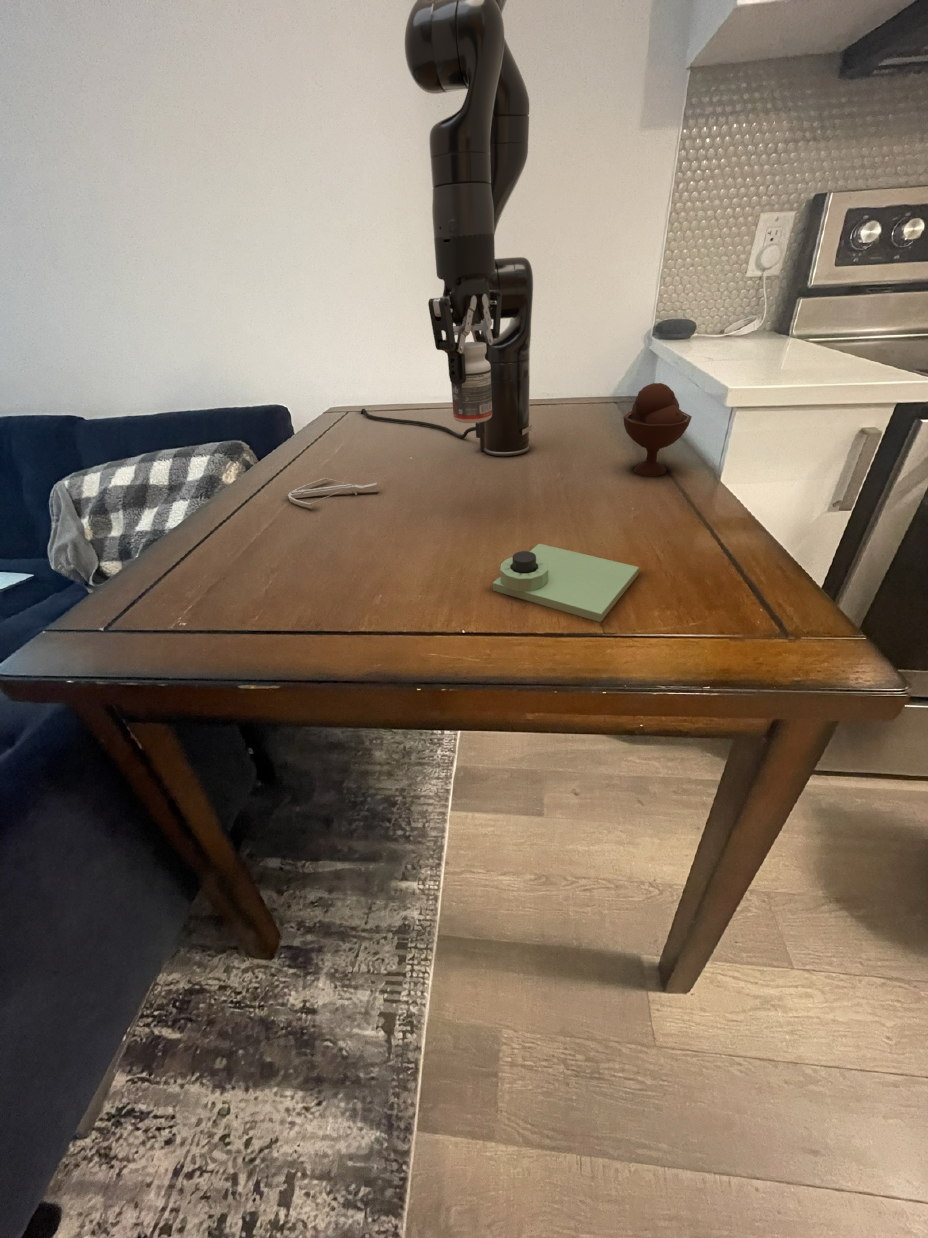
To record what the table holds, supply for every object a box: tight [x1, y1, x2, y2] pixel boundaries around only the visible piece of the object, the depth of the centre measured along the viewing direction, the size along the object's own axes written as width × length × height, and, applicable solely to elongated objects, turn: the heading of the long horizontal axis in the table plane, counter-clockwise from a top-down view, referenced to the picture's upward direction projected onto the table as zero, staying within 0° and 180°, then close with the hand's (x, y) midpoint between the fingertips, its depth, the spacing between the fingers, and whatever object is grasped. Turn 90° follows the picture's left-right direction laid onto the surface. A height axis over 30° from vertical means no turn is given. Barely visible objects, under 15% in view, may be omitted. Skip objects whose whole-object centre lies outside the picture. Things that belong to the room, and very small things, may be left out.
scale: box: [492, 543, 640, 623], centre depth 66 cm, size 14×12×3 cm
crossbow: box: [287, 477, 380, 509], centre depth 96 cm, size 16×13×2 cm
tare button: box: [512, 550, 536, 574], centre depth 65 cm, size 3×3×2 cm
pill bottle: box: [450, 341, 492, 424], centre depth 77 cm, size 6×6×10 cm
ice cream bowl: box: [623, 382, 693, 477], centre depth 94 cm, size 11×11×15 cm
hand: (470, 378), depth 77 cm, fingers closed on pill bottle, 5 cm apart
